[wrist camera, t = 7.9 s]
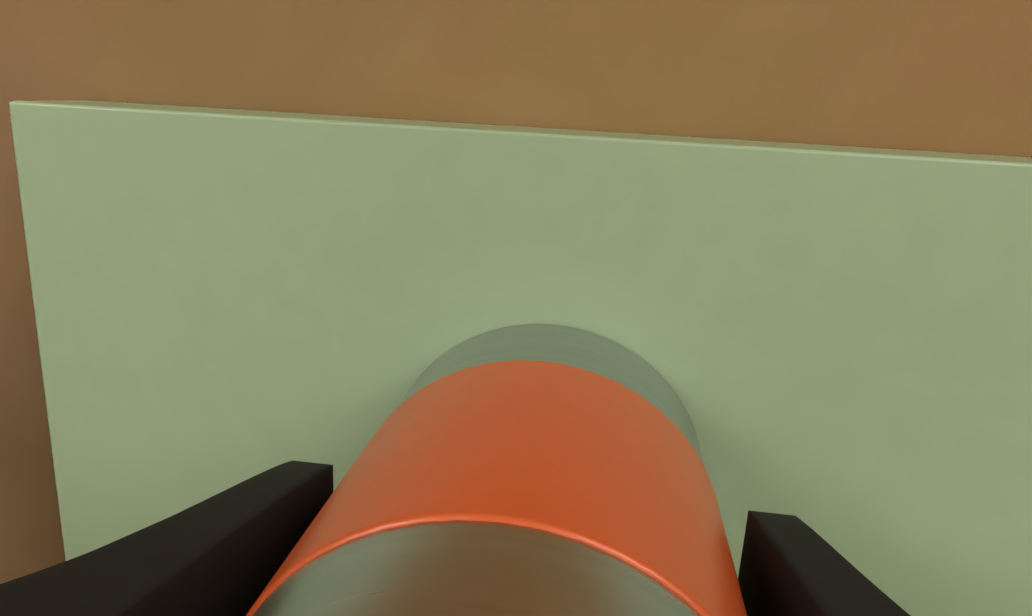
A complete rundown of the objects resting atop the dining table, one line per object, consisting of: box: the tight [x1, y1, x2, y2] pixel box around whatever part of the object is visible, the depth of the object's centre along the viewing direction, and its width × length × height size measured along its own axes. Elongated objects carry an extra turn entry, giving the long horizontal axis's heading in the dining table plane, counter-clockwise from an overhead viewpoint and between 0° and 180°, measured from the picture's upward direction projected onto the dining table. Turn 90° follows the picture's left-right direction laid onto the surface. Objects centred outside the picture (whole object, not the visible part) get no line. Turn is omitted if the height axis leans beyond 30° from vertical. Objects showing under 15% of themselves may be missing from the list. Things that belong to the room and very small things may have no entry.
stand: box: [9, 100, 1032, 616], centre depth 13 cm, size 20×11×2 cm, turn 87°
